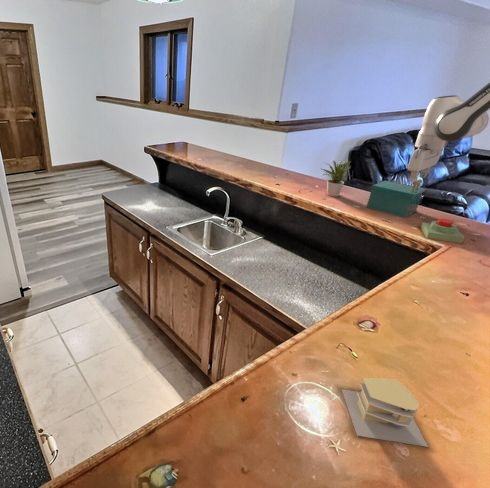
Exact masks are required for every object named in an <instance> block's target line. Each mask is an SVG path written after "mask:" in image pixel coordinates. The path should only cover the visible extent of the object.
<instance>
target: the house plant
mask: <svg viewBox="0 0 490 488" xmlns="http://www.w3.org/2000/svg"><path fill="white" fill-rule="evenodd" d="M351 162H352V161H347V162H344V163H343V160H341V161H340V162H339V164H338V163H337V162H336V161H335V160H334V159H332V164H333V165H334V168H333V166H332V165H331V164H330V163H327V162H324V161H323V163H325V164H326V165H327V166H329V169H331V170H328V169H325V168H320V170H322V172H323V174H322V175H321V176H322V177H323V176H328V177H331V179H328V180H327V181H326V195H327V196H330V197H339V196H340V194H341V191H342V189H343V187H344V184H345V182H344V181H343V180H342V179H343V178H345V177H351V175H349V174H348V175H347V171H349V170H351V168H352V167H351V166H352V165H351V164H350V163H351Z"/></svg>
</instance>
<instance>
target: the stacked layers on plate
mask: <svg viewBox="0 0 490 488" xmlns="http://www.w3.org/2000/svg"><path fill="white" fill-rule="evenodd" d="M362 380H363V383H360V388H361V391H355V390H348V389H341V392H342V396H343V398H344V401H345V404H346V407H347V410H348V413H349V416H350V418H351V422H352V425H353V428H354V431H355V434H356V436H358V437H364V438H369V439H377V440H382V441H383V440H384V441H389V442H395V443H402V444H408V445H414V446H421V447H425V448H428V447H429V446H428V443H427V442H426V440H425V438H424V437H423V434H422V432H421V430H420V428H419V427H418V424H417V422H416V420H415V419H414V416H415V414H416V413H417V411H418V407H419V406H420V402H419V401H418V399H417V398H416V397H415V396H414V395H413V393H411V392H410V390H409V389H408V388H407V387H406V386H405V384H403V383H402V382H401V381H399V380H397V379H394V378H386V377H383V378H381V377H362Z"/></svg>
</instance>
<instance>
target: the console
mask: <svg viewBox="0 0 490 488" xmlns="http://www.w3.org/2000/svg"><path fill="white" fill-rule="evenodd" d="M437 222H438V220H433V221H431V222H425V221H424V222H421V223H420V226H419V227H420V230H421V231H422V233H423V235H424V236H425V238H426V239H430V240H437V241H444V242H445V241H446V242H452V243H460V244H462V243H463V241H464V239H465V236H464V235H463V234H462V233H461V232H460V230H459V228H458V226H457V225H456V224H454V223H452V225H451V227H443V226H439V225H437Z"/></svg>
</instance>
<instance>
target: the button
mask: <svg viewBox="0 0 490 488" xmlns="http://www.w3.org/2000/svg"><path fill="white" fill-rule="evenodd" d="M437 221H438V222H437V225H439V226H443V227H451V225H452V224H454V223H453V222H454V221H452V220H451V219H447V218H438V220H437Z"/></svg>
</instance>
